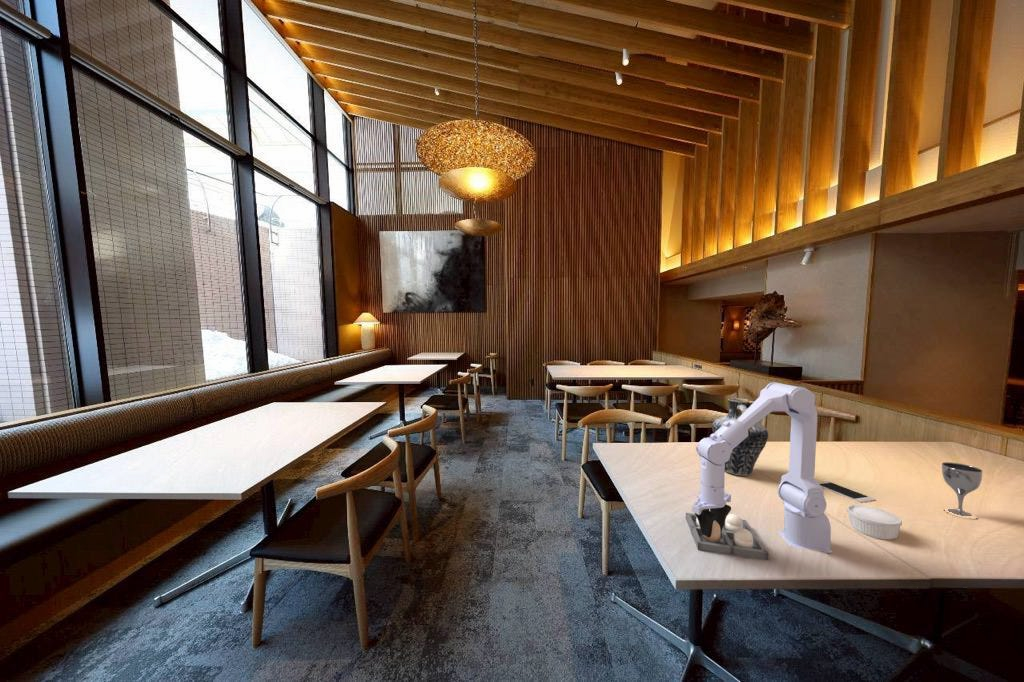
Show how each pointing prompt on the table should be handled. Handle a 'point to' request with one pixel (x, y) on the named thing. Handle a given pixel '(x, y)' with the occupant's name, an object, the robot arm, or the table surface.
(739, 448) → the jug
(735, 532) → the cream egg
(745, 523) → the egg tray
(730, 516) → the cream egg
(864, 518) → the ramekin
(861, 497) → the smartphone
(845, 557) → the table surface
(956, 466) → the wine glass
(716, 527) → the tan egg
